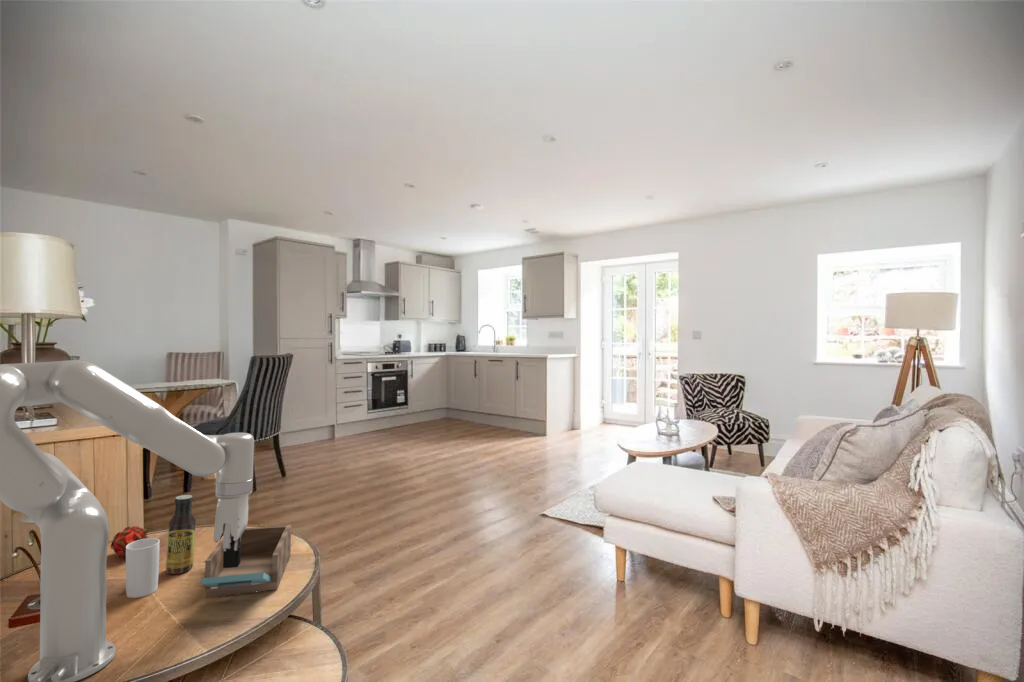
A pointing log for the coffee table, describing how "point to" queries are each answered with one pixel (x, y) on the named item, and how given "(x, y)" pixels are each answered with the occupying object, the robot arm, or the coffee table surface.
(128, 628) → the coffee table surface
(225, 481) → the robot arm
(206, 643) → the coffee table surface
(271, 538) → the box
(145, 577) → the white oval vase
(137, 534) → the dragon fruit
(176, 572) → the sauce bottle
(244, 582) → the panel
